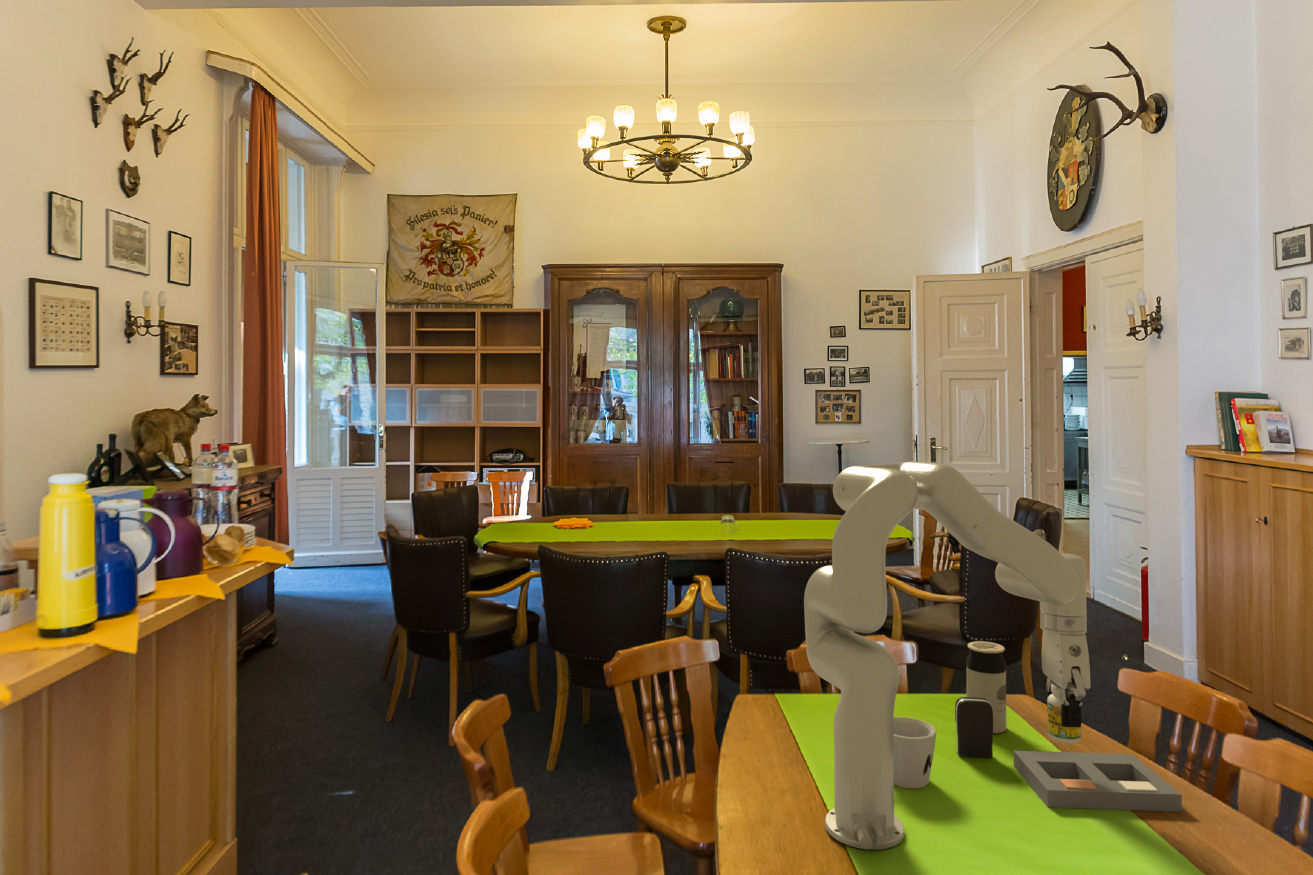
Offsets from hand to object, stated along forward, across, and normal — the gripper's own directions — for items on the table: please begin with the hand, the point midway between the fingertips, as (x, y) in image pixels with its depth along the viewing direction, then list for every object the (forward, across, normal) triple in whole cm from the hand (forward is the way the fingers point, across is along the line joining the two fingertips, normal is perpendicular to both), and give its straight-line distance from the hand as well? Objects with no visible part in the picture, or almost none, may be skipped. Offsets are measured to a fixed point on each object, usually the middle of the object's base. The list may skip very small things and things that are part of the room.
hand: (1063, 718), depth 140 cm
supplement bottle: (+4, 0, 0) cm, 4 cm away
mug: (+13, +1, +30) cm, 33 cm away
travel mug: (+13, +27, +5) cm, 30 cm away
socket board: (+13, 0, -5) cm, 13 cm away
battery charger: (+13, +13, +12) cm, 22 cm away
